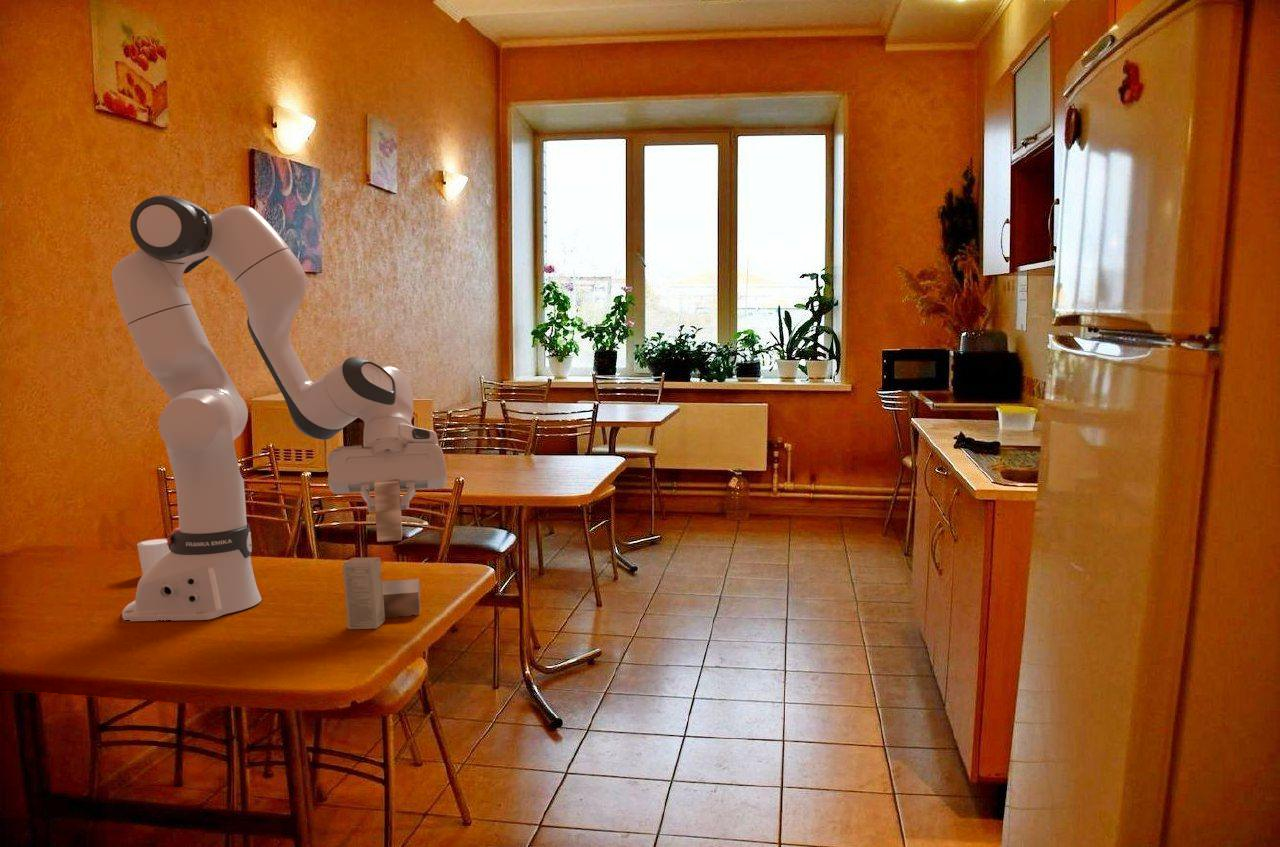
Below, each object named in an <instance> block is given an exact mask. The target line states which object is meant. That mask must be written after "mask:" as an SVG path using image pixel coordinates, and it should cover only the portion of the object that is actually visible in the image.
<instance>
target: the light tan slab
mask: <svg viewBox="0 0 1280 847" xmlns="http://www.w3.org/2000/svg"><path fill="white" fill-rule="evenodd" d="M382 586H383V599H384V612H385V617H388V618H398V616H402V617H412V616H411V615H415V616H420V612H421V611H420V610H421V602H420V601H422V600H421V581H420V578H415V579H413V578H412V579H398V580H397V579H395V580H382ZM419 611H420V612H419Z"/></svg>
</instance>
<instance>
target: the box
mask: <svg viewBox="0 0 1280 847" xmlns="http://www.w3.org/2000/svg"><path fill="white" fill-rule="evenodd" d="M381 564H382V562H381V557H379V556H376V557H375V556H374V557H373V556H372V557H352V558H350V559H349V560H346V562H344V563H342V570H343V582H344V594H345V607H346V608H345V609H346V619H347V621H346V622H347V629H348V630H364V629H365V630H372V629H374V630H375V629H378V628H379V627H380V626H381V625H383V624H384V623H385V621H386V618H385V612H384V599H383V586H382V581H383V576H382V565H381Z"/></svg>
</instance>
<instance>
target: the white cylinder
mask: <svg viewBox="0 0 1280 847" xmlns="http://www.w3.org/2000/svg"><path fill="white" fill-rule="evenodd" d="M167 539H168V537H167V538H165V537H164V538H163V537H162V538H153V539H147V540H142V541H140V542H138V543H137V544H136V545H137V551H138V556H139V562H140V567H141V573H142V576H143V575H144V574H145V573H146V572H147V571H148V570H149V569H150V568H151V567H153V566H154V565H155V564H156V563H157V562H158V561H160V560H161V559H162V558H163V557H164V556H166V555H167V554H168V553H169V552H170V550H169V546H168V545H167V542H168V541H167Z"/></svg>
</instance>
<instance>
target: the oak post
mask: <svg viewBox="0 0 1280 847" xmlns="http://www.w3.org/2000/svg"><path fill="white" fill-rule="evenodd" d="M374 491H375V492H374V498H375V510H376V511H375V524H376V541H377V542H379V543H380V542H391V541H393V542H396V541H402V540H403V539H402V538H403V522H402V521H403V520H402V519H403V518H402V509H400V496H401V491H400V481H399V479H393V480H376V481H375V483H374Z"/></svg>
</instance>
